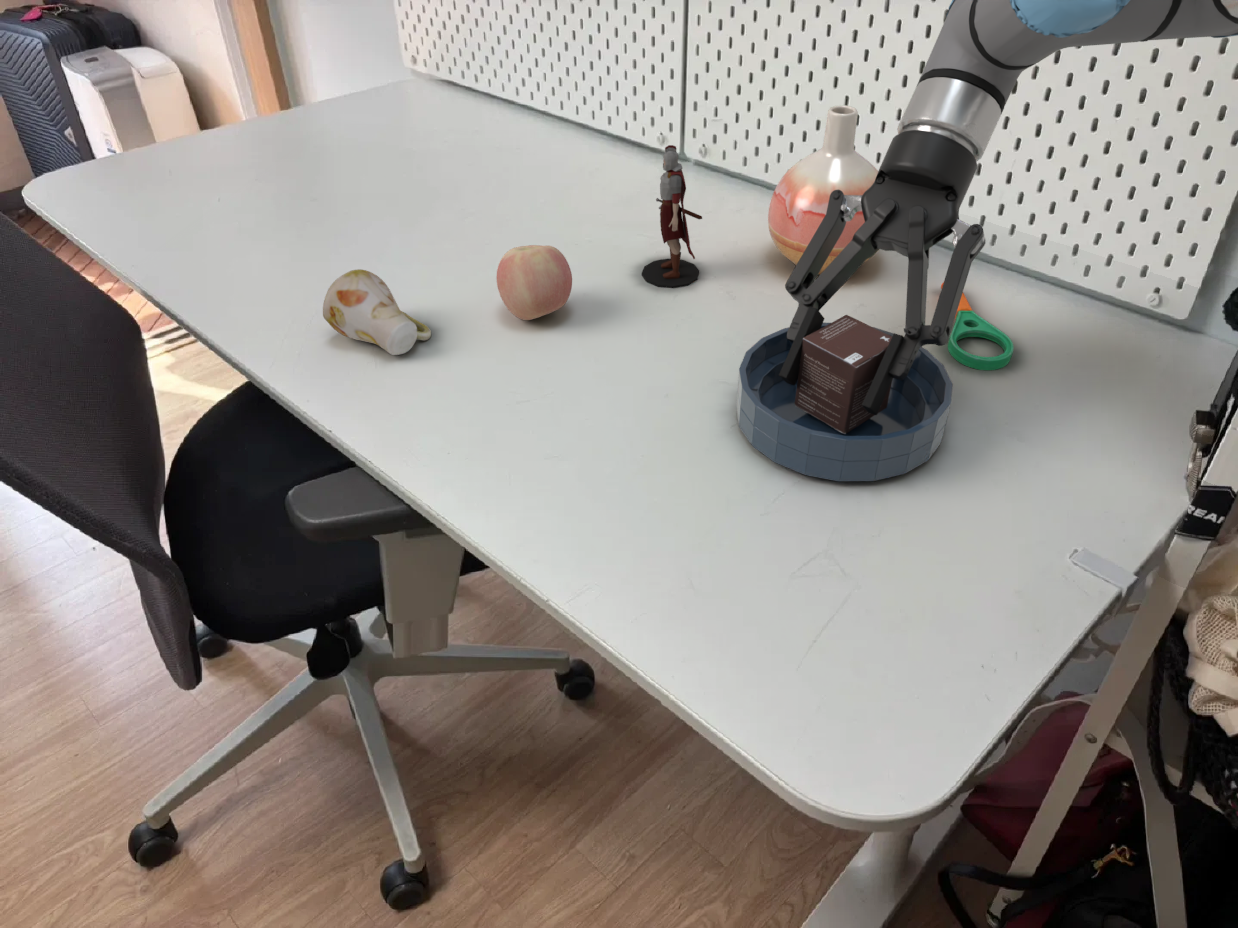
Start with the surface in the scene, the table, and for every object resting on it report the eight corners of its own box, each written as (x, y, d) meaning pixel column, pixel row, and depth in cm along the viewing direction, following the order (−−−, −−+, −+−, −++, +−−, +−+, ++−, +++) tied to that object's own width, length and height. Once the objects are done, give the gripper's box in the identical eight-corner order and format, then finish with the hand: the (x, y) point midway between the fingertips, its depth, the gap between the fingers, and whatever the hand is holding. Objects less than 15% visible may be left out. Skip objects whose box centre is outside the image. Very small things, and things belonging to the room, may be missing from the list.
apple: (582, 301, 103) (578, 234, 98) (561, 337, 97) (556, 268, 92) (513, 294, 105) (507, 227, 99) (490, 329, 99) (481, 260, 94)
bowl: (970, 406, 86) (983, 361, 83) (889, 516, 75) (900, 468, 72) (795, 346, 95) (800, 303, 92) (699, 437, 84) (700, 391, 81)
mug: (393, 376, 93) (329, 293, 88) (360, 375, 101) (300, 298, 96) (447, 331, 95) (388, 248, 91) (411, 333, 103) (355, 257, 99)
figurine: (639, 261, 110) (638, 134, 100) (700, 258, 110) (705, 132, 101) (644, 289, 105) (643, 158, 95) (708, 286, 105) (714, 155, 95)
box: (836, 381, 88) (847, 312, 83) (888, 409, 84) (902, 339, 79) (792, 406, 85) (800, 336, 80) (844, 437, 81) (856, 366, 76)
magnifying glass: (1020, 370, 91) (1024, 355, 90) (957, 371, 91) (961, 356, 90) (975, 293, 103) (978, 279, 101) (920, 294, 103) (923, 280, 102)
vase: (748, 278, 106) (759, 122, 95) (784, 229, 116) (798, 82, 105) (868, 301, 102) (894, 140, 90) (895, 248, 111) (922, 97, 100)
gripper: (1057, 194, 78) (945, 444, 79) (839, 145, 88) (740, 369, 88) (1055, 152, 72) (933, 426, 72) (819, 104, 81) (712, 347, 81)
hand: (827, 394), depth 80 cm, fingers closed on box, 7 cm apart
